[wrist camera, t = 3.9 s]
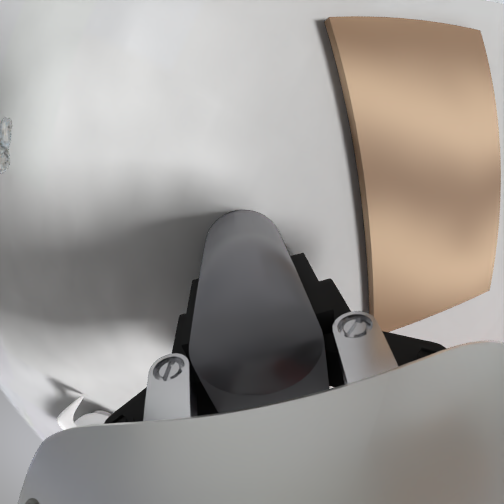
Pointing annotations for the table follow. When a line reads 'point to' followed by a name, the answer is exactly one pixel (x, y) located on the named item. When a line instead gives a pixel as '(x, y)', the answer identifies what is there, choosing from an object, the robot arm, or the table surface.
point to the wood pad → (421, 160)
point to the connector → (253, 319)
